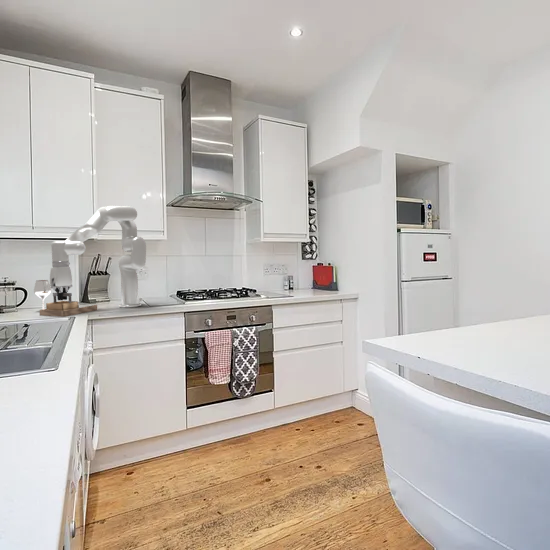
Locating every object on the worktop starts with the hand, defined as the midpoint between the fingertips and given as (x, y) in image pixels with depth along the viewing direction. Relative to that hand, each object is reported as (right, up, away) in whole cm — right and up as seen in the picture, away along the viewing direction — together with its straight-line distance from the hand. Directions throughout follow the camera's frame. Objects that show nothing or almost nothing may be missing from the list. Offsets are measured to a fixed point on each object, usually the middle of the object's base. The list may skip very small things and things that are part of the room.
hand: (62, 299), depth 195 cm
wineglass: (-17, -8, +12) cm, 22 cm away
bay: (+1, -8, +4) cm, 10 cm away
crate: (0, -7, +1) cm, 7 cm away
